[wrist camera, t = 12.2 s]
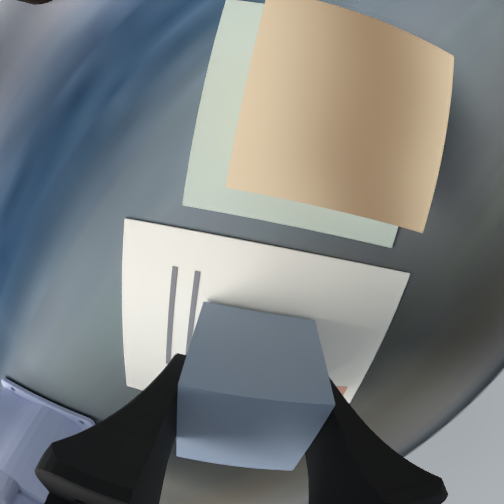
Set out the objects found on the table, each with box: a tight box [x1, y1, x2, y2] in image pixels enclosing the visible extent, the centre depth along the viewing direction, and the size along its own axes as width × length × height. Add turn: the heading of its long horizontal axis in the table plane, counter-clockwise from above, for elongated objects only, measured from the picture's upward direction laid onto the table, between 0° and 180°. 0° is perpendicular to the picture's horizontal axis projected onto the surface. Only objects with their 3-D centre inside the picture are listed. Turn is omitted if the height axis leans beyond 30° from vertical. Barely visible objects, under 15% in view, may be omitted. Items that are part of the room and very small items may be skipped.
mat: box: [182, 0, 398, 248], centre depth 11 cm, size 9×9×1 cm
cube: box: [177, 302, 335, 470], centre depth 12 cm, size 5×5×5 cm
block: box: [225, 0, 454, 233], centre depth 8 cm, size 5×5×5 cm
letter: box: [122, 218, 410, 403], centre depth 14 cm, size 13×10×1 cm
